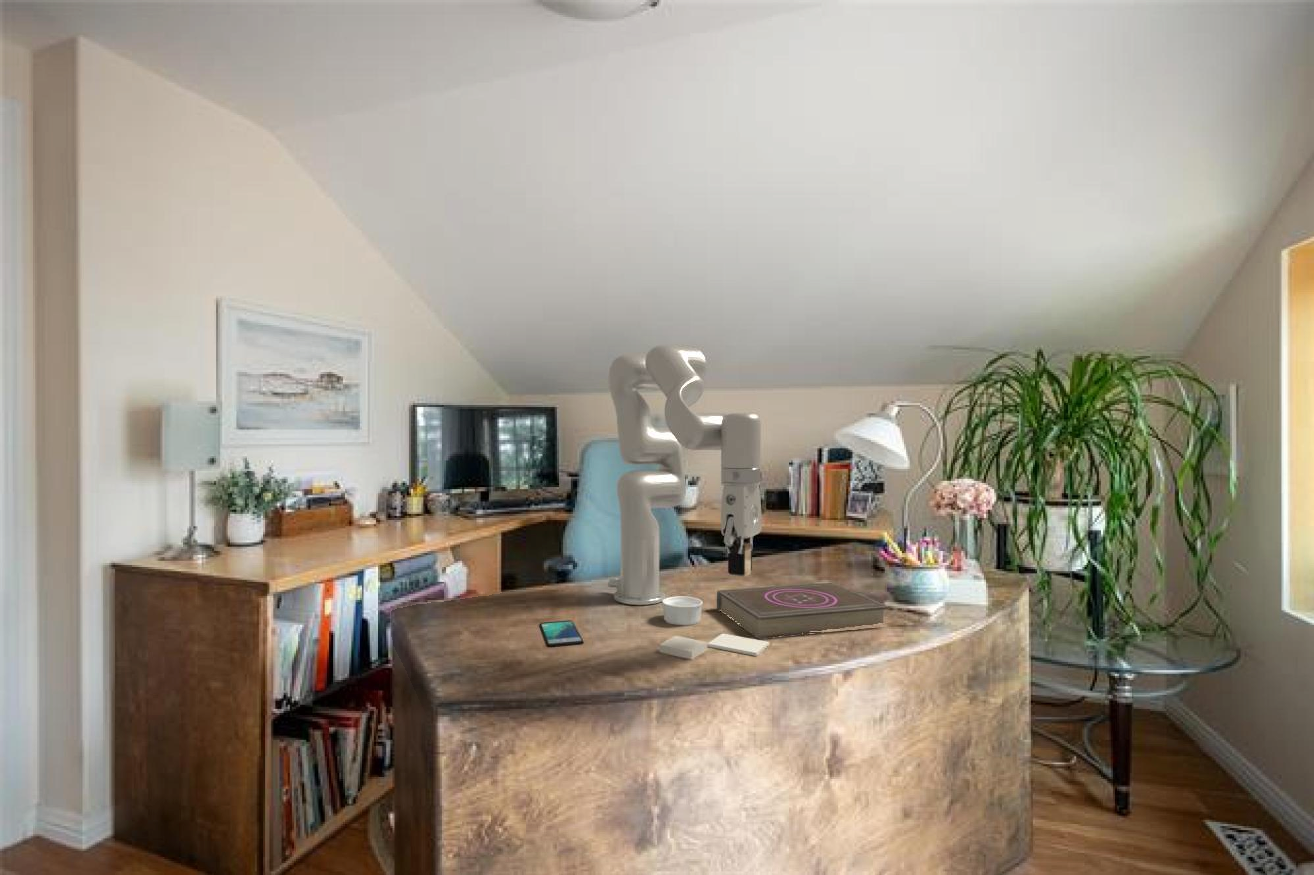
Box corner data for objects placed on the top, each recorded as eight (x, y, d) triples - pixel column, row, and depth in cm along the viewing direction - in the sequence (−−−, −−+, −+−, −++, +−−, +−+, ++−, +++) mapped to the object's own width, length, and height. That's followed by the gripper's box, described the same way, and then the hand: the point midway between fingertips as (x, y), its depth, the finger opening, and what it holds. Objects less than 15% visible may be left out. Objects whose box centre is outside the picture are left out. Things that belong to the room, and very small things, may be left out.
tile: (659, 644, 119) (691, 651, 115) (675, 635, 124) (707, 642, 120) (659, 653, 119) (691, 661, 115) (675, 644, 124) (707, 651, 121)
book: (758, 641, 127) (758, 616, 127) (716, 611, 148) (716, 589, 148) (888, 629, 135) (888, 606, 135) (831, 602, 157) (831, 581, 157)
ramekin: (660, 615, 143) (660, 595, 143) (699, 614, 144) (699, 595, 144) (664, 627, 134) (664, 607, 134) (705, 626, 135) (705, 606, 135)
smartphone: (547, 645, 121) (539, 622, 135) (547, 649, 121) (539, 625, 135) (584, 642, 123) (572, 619, 137) (584, 646, 123) (572, 623, 137)
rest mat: (707, 646, 122) (707, 643, 122) (722, 636, 128) (722, 633, 128) (756, 656, 117) (756, 652, 117) (769, 645, 123) (769, 641, 123)
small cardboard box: (729, 574, 122) (730, 543, 122) (736, 571, 125) (736, 541, 125) (745, 576, 120) (745, 545, 120) (751, 573, 123) (751, 542, 123)
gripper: (742, 480, 113) (742, 583, 114) (773, 475, 128) (772, 566, 128) (704, 479, 117) (704, 578, 117) (738, 474, 131) (738, 562, 131)
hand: (740, 571), depth 122 cm, fingers closed on small cardboard box, 3 cm apart
